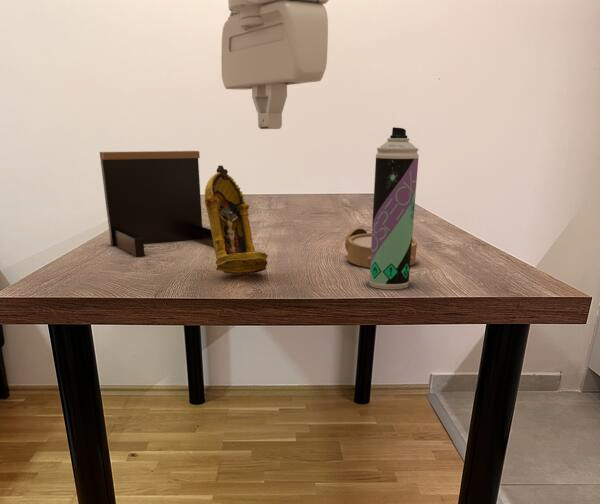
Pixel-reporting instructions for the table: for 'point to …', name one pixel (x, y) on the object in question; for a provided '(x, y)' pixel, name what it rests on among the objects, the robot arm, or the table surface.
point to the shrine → (231, 226)
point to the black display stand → (153, 198)
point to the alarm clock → (366, 248)
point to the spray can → (393, 211)
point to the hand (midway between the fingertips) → (269, 129)
